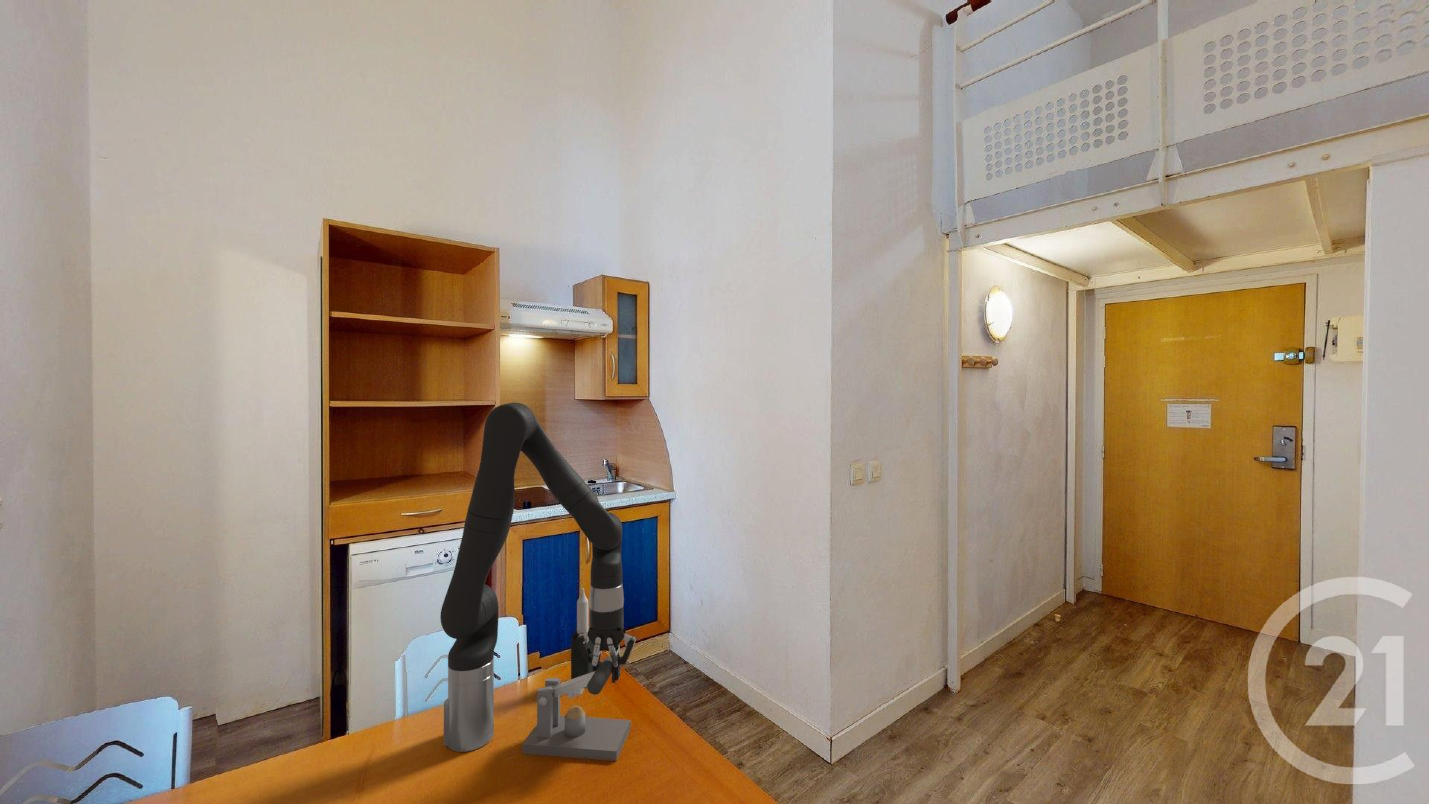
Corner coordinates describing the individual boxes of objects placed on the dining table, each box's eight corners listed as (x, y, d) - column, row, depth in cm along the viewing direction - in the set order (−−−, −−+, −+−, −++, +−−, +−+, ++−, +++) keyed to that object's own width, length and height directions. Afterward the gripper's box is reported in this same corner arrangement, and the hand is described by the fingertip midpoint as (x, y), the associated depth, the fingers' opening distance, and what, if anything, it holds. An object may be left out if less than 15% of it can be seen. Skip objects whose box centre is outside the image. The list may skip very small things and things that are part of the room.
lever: (536, 717, 114) (530, 701, 114) (555, 692, 124) (549, 677, 124) (604, 694, 113) (598, 677, 113) (618, 670, 122) (612, 655, 123)
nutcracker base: (522, 753, 114) (522, 697, 114) (544, 723, 125) (544, 671, 125) (616, 760, 112) (616, 703, 112) (630, 728, 123) (630, 676, 123)
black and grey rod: (587, 688, 140) (587, 592, 140) (569, 686, 141) (569, 590, 141) (595, 678, 145) (595, 585, 145) (578, 676, 146) (578, 584, 146)
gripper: (569, 609, 118) (570, 687, 118) (632, 611, 116) (632, 691, 116) (582, 596, 125) (582, 670, 125) (641, 599, 124) (641, 674, 124)
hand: (606, 680), depth 121 cm, fingers closed on lever, 3 cm apart
